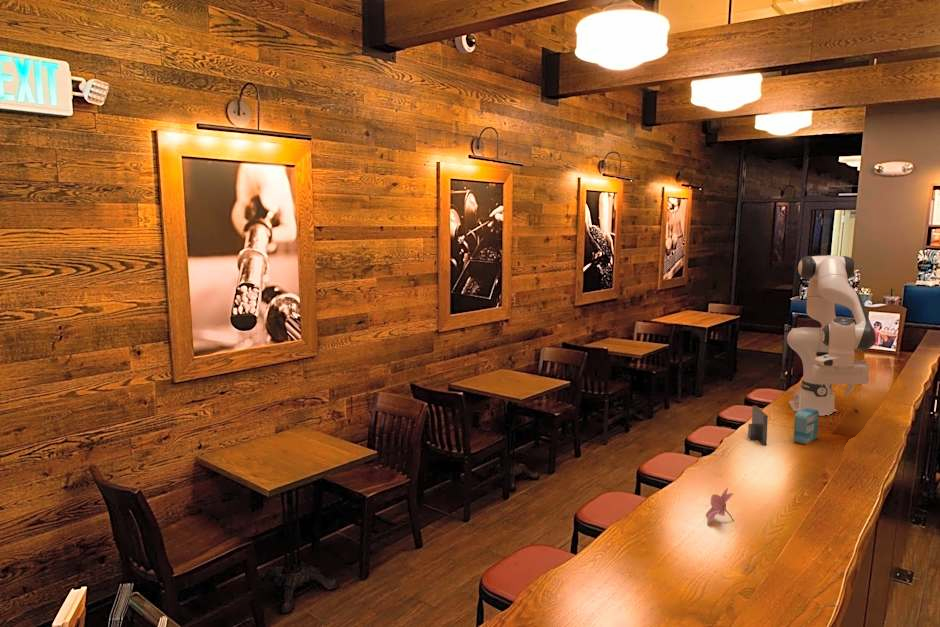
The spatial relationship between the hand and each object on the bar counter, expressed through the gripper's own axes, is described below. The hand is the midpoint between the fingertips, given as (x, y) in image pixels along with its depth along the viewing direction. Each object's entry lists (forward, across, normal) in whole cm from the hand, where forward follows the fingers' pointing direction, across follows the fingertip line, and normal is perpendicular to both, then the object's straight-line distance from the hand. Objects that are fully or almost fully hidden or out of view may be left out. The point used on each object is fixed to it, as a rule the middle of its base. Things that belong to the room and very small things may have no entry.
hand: (838, 394), depth 246 cm
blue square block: (+19, +12, 0) cm, 23 cm away
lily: (+19, +63, +73) cm, 98 cm away
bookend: (+19, +31, 0) cm, 36 cm away
